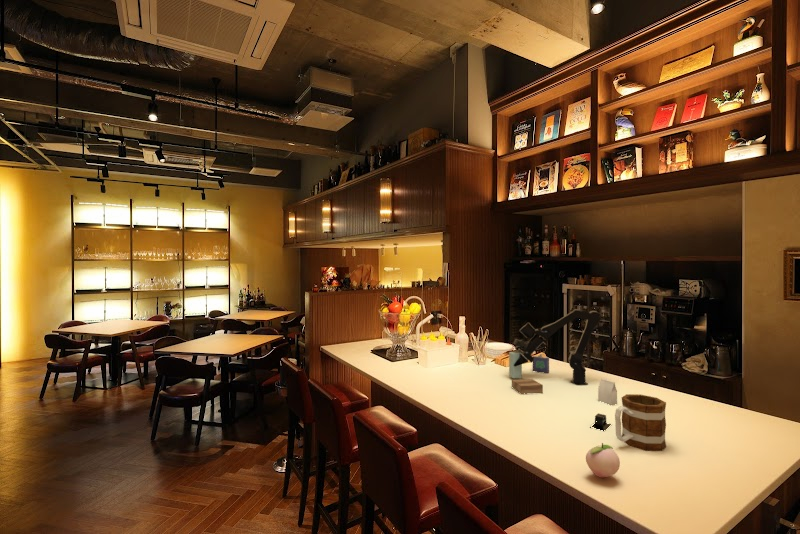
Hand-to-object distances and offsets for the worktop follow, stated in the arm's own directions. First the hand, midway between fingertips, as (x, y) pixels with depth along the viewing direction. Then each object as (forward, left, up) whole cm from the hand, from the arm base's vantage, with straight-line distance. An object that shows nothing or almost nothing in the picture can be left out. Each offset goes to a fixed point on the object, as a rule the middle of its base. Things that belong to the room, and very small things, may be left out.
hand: (512, 364), depth 222 cm
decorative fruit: (-102, +18, -8) cm, 104 cm away
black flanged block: (-66, -6, -9) cm, 67 cm away
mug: (-83, -8, -8) cm, 84 cm away
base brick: (-20, +2, -8) cm, 22 cm away
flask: (+12, -22, -8) cm, 27 cm away
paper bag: (-42, -26, -8) cm, 50 cm away
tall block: (0, -1, -7) cm, 7 cm away
